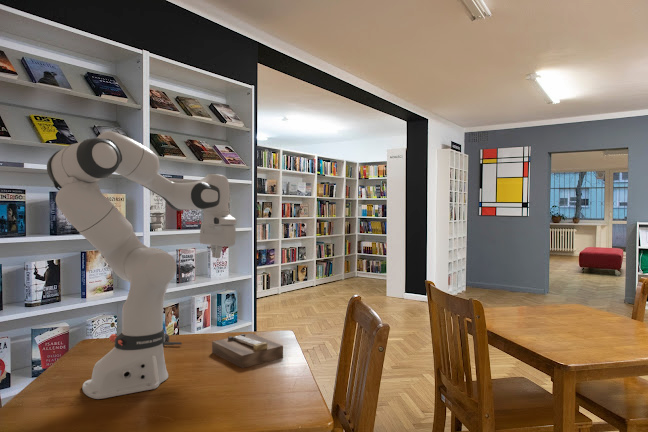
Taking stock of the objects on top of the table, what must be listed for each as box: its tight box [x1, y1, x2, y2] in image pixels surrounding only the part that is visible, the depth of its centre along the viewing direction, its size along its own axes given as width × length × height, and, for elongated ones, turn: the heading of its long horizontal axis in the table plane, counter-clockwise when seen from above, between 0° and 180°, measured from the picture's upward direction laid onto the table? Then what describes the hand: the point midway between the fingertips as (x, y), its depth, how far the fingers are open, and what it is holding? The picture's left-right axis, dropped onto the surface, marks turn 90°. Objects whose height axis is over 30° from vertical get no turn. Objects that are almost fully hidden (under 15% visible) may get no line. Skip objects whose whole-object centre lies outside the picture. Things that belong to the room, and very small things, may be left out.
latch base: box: [211, 332, 284, 369], centre depth 150 cm, size 16×20×6 cm
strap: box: [232, 335, 262, 347], centre depth 150 cm, size 3×14×1 cm, turn 42°
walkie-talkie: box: [164, 333, 182, 346], centre depth 163 cm, size 9×4×20 cm
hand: (216, 257), depth 156 cm, fingers closed
